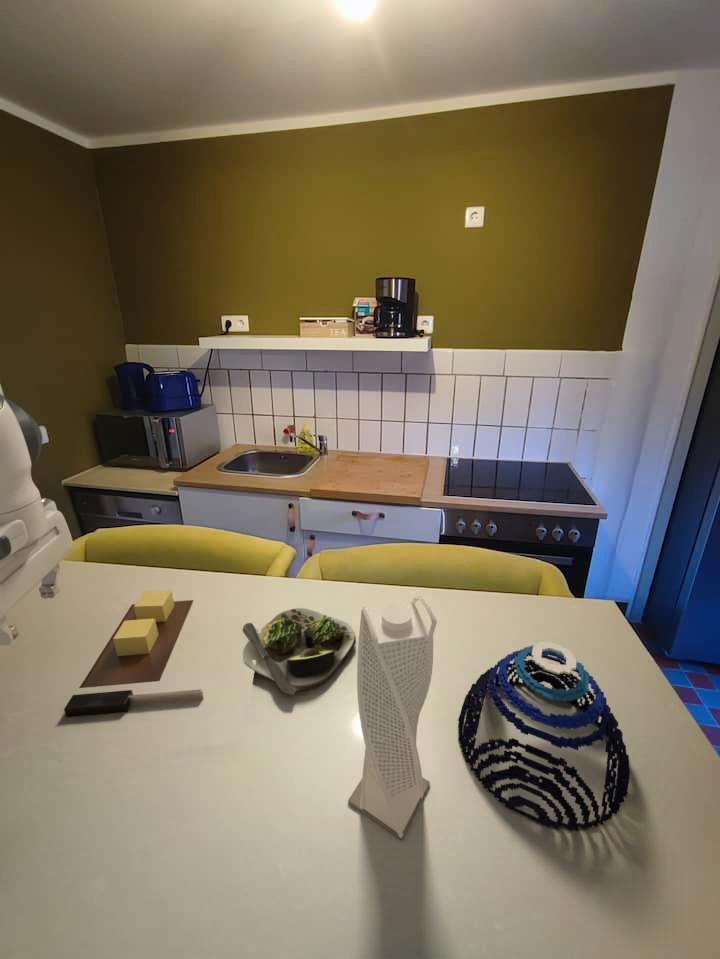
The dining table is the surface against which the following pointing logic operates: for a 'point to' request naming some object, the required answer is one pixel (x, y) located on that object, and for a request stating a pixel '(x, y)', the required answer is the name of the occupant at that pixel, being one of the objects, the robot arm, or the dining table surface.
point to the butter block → (136, 637)
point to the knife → (122, 701)
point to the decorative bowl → (545, 735)
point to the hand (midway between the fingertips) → (31, 616)
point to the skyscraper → (392, 711)
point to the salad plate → (299, 648)
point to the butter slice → (154, 605)
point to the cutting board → (142, 665)
